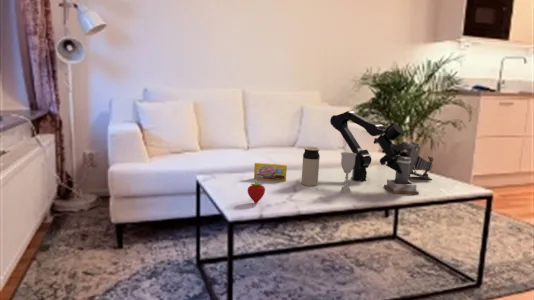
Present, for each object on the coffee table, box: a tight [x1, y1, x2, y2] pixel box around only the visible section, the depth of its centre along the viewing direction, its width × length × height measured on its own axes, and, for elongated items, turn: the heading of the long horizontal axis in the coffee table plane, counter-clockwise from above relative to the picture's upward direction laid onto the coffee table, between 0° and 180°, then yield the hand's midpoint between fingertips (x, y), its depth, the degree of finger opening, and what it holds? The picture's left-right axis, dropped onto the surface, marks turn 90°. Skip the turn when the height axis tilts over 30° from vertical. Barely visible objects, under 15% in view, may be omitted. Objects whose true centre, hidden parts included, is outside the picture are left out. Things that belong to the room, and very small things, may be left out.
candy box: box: [253, 162, 288, 182], centre depth 216 cm, size 16×2×8 cm, turn 83°
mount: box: [383, 178, 420, 195], centre depth 206 cm, size 12×12×4 cm
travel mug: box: [301, 146, 320, 187], centre depth 209 cm, size 8×8×18 cm
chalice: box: [339, 151, 357, 194], centre depth 199 cm, size 7×7×18 cm
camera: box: [405, 140, 434, 181], centre depth 234 cm, size 11×17×20 cm, turn 86°
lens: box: [394, 157, 411, 184], centre depth 205 cm, size 6×6×14 cm
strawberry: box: [247, 179, 266, 204], centre depth 176 cm, size 6×8×10 cm
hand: (404, 172), depth 204 cm, fingers closed on lens, 6 cm apart
